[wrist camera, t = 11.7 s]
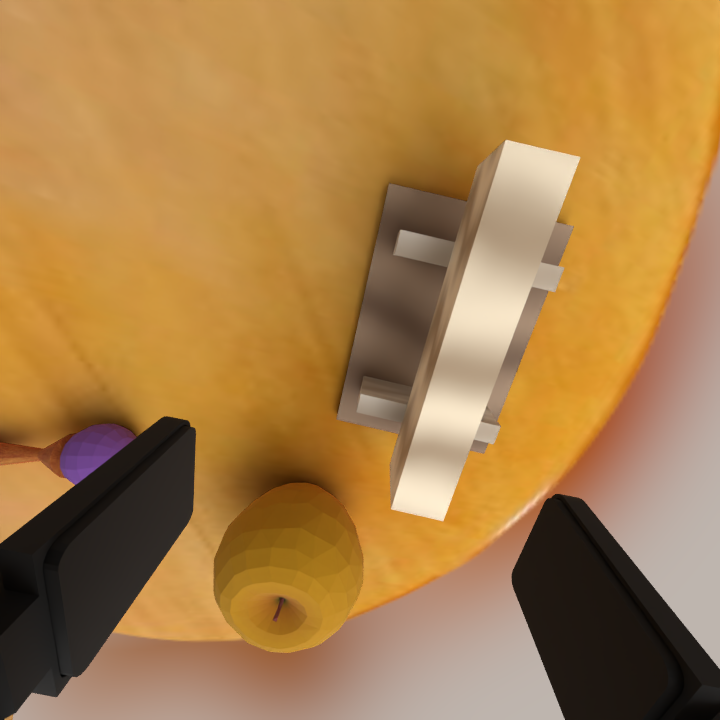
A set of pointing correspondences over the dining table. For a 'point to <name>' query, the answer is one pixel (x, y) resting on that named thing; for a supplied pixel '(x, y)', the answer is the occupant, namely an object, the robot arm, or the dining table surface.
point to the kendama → (73, 451)
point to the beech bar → (476, 319)
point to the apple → (289, 569)
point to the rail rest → (423, 310)
